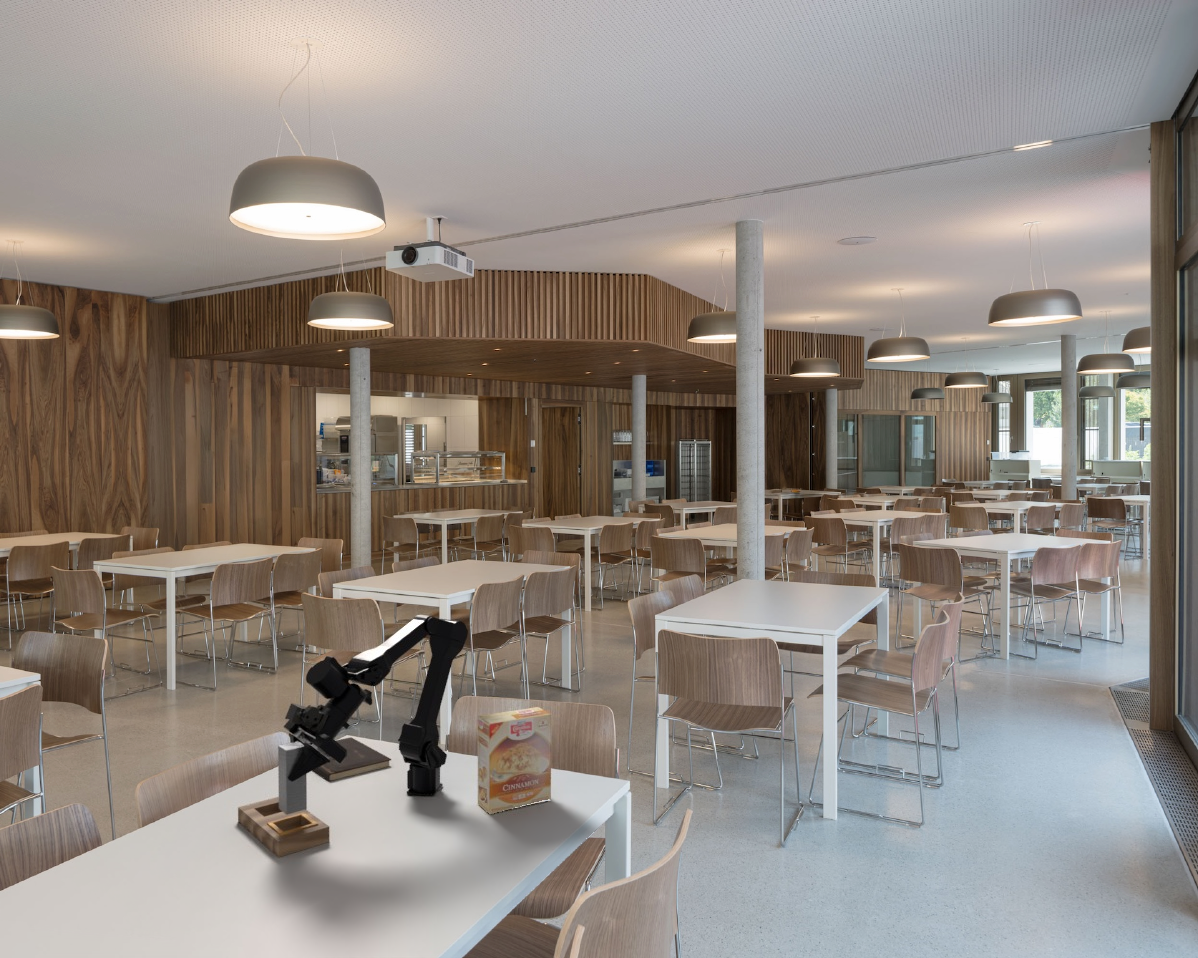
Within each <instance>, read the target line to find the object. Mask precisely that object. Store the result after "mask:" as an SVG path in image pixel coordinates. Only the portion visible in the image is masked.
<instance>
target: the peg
mask: <svg viewBox="0 0 1198 958" xmlns="http://www.w3.org/2000/svg"><path fill="white" fill-rule="evenodd" d="M277 751H278V752H277V753H278V754H277V755H278V757H277V759H278V760H277V761H278V762H277V764H278V765H277V766H278V769H277V770H278V773H277V774H278V797H279V809H280V810H281V811H282V812H284V813H285V814H286V815H288V814H291V813H295V812H298V811H302V810H307V809H308V808H307V807H308V806H307V805H308V804H307V803H308V799H307V798H308V797H307V794H308V792H307V785H308V784H307V780H308V779H307V774H305V775H303V776H302V777H300V778H298V779H296V780H295V781H293V782H291V781H290V780H289V779H288V777H289V776H290V774H291V772H292V771H293V769H294V768H295V766H296V765H297V763H298V761H299V760H300V758H301V757H302V755H303V754H304V744H302V743H300V742H298V741H297V742H293V743H290V742H289V743H285V744H281V745H278V747H277Z"/></svg>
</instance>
